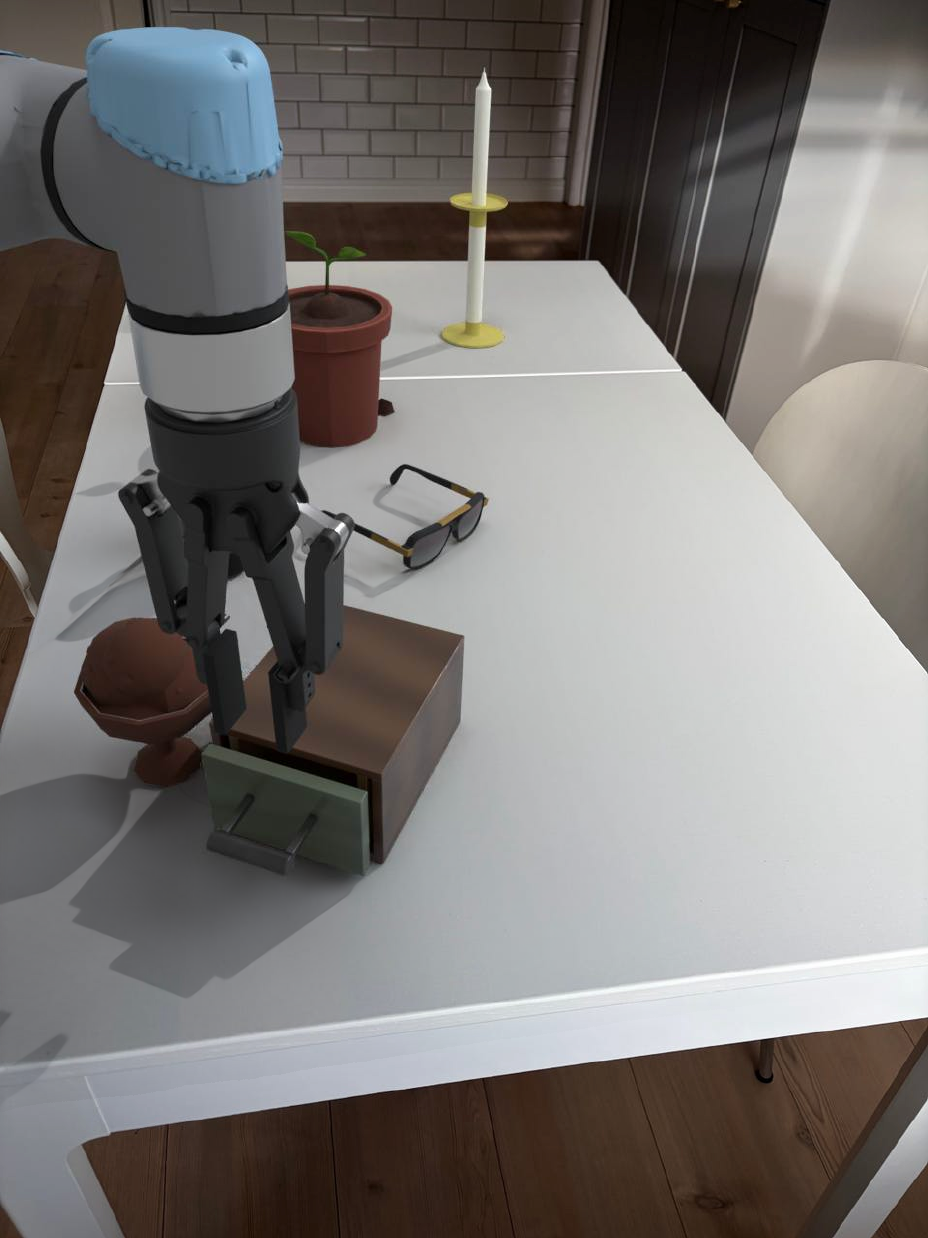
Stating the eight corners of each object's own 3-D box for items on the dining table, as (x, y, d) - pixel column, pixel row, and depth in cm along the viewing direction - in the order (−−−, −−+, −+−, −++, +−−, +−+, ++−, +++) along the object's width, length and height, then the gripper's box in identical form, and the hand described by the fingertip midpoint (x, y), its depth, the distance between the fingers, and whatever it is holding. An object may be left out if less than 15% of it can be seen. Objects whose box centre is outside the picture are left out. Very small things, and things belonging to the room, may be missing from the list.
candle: (443, 322, 160) (449, 59, 138) (504, 325, 160) (521, 63, 138) (439, 346, 152) (445, 71, 130) (504, 349, 152) (521, 75, 130)
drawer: (331, 933, 68) (326, 860, 63) (175, 879, 71) (158, 804, 66) (440, 737, 83) (443, 666, 78) (308, 699, 86) (302, 629, 82)
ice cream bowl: (263, 746, 83) (245, 602, 74) (168, 834, 75) (135, 685, 66) (169, 700, 87) (141, 558, 78) (69, 778, 79) (25, 631, 70)
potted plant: (254, 456, 123) (233, 250, 107) (266, 382, 140) (249, 196, 125) (397, 454, 124) (396, 251, 109) (392, 382, 141) (390, 198, 126)
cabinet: (383, 864, 74) (381, 774, 68) (223, 812, 77) (208, 722, 71) (460, 721, 86) (464, 635, 80) (319, 682, 90) (313, 596, 84)
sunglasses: (391, 483, 118) (390, 446, 115) (494, 527, 111) (496, 489, 108) (308, 531, 109) (306, 491, 106) (415, 582, 102) (415, 542, 99)
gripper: (404, 390, 50) (404, 726, 64) (122, 336, 54) (180, 662, 69) (339, 455, 45) (355, 807, 59) (30, 388, 49) (115, 732, 63)
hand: (261, 729), depth 64 cm, fingers open, 4 cm apart
